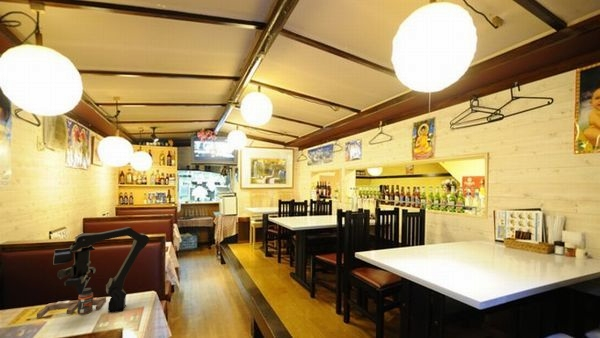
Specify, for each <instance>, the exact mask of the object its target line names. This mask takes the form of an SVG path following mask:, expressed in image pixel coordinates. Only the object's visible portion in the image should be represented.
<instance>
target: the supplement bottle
mask: <svg viewBox="0 0 600 338" xmlns="http://www.w3.org/2000/svg"><path fill="white" fill-rule="evenodd" d="M77 298H78V299H77V300H78V308H77V315H79V316H80V315H87V314H89V313H91V312H92V311H93V306H94V305H93V298H94V292H92V288H91V287H85V289H84V291H83V292H82V294H80V295H79V294H78V297H77Z"/></svg>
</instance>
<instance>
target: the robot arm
mask: <svg viewBox="0 0 600 338" xmlns="http://www.w3.org/2000/svg"><path fill="white" fill-rule="evenodd" d="M125 236H128V237H130V238H131V239H133V242H132V245H131V248H130V251H129V253H127V256H126V258H125V260H124V261H123V263H122V265H121V266H120V268H119V270H118V272H117V274H116V275H115V276H114V277H113V278H112V277H110V278H109V280H108V282H107V284H105V292H106V294H107V295H108V296H109V297H110V299H109V301H108V306H107V307H108V309H107V310H108V311H107V313H111V314H113V313H118V312H123V311H125V310H126V307H127V304H126V297H127V293H126V291H125V290H124V289H123V287H124V284H125V280H126V278H127V275H128V274H129V272H130V271H131V268H132V266H133V264H134V263H135V261H136V259H137V258H138V256H139V254H140V252H141V251H143V249H145V248H146V247H147V245H148V244H149V242H150V238H149V236H148V235H147V234H145V233H144V232H143V233H142V232H141V233H139V232H138V231H135V230H134V229H133V228H132V227H130V226H125V227H122V228H117V229H116V228H115V229H113V230H107V231H102V232H89V233H88V232H85V233H80V234H78V235H77V236H76V237H75V238H74V242H73V243H72V244H71V245H70V246H69V247H68V248H56V249H54V254H53V263H52V264H53V265H56V266H57V265H62V264H63V265H64V264H69V263H70V262H72V261H73V260H74V262H73V264H71V266H70V267H67V268H63V269H60V270H58V271H57V275H56V277H57V278H59V279H60V280H62V279H64V278H66V277H68V276H69V277H68V278H67V279H66V280H65V281H64V287H68V286H69V287H70V286H75V288H76V291H77V294H78V296H79V295H80V294H82V292H83V291H84V289H85V288H87V287H86V286H87V285H88V283H89V281H90V279H91V278H92V276H90V275H89V274H90V273H91V274H92V275H93V274H95V273H96V271H97V270H96V267H95V266H90V264H91V263H92V261H91V259H90V256H91V251H95V250H96V248H95V247H94V246H92V245H94V244H97V243H99V242H103V241H107V240H111V239H117V238H121V237H125ZM88 275H89V276H88Z"/></svg>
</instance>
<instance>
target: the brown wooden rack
mask: <svg viewBox="0 0 600 338" xmlns="http://www.w3.org/2000/svg"><path fill="white" fill-rule="evenodd" d="M106 302H107V297H106V296H103V297H93V306H95V312H96V311H100V310H101V308H102V307H103V306H104V305H105V303H106ZM56 309H58V310H63V309H65V310H66V311H65V313H66V314H65V315H72V314H73V313H74V312H75V311H76V310H78V299H77V300H63V301H57V302H51V303H48V304H46V305H45V307H43V308H42V309H40V311H39V312H37V313H36V319H40V318H41V319H42V317H43V316H44V315H45V314H47V313H48V312H49V311H57V310H56Z"/></svg>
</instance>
